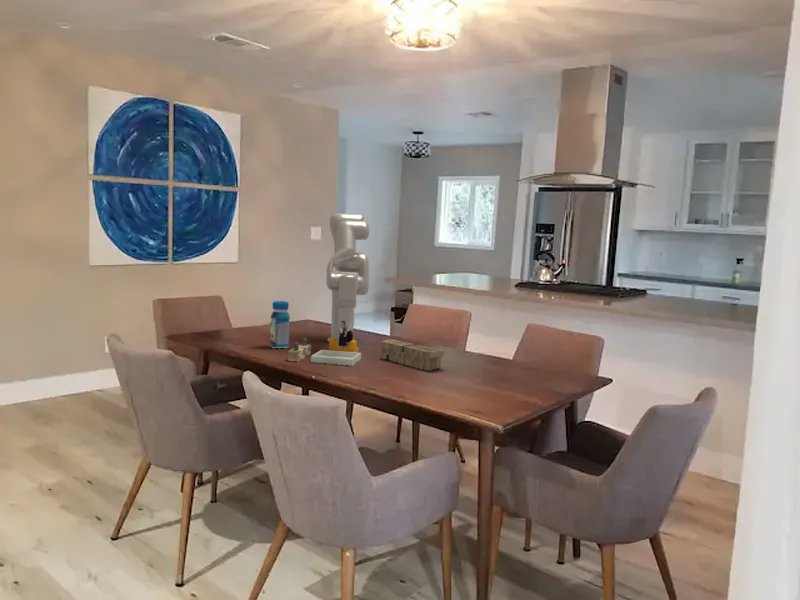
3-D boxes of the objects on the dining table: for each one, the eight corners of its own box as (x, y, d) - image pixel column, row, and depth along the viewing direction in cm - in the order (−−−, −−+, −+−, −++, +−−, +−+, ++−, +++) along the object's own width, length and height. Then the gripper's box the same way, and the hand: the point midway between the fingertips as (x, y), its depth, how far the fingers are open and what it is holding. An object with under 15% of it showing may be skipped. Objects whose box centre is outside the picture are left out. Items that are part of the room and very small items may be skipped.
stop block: (301, 353, 268) (302, 336, 268) (310, 354, 268) (311, 337, 267) (288, 360, 253) (288, 343, 252) (297, 361, 252) (298, 344, 251)
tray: (321, 355, 266) (321, 349, 266) (361, 358, 263) (361, 352, 262) (310, 362, 252) (310, 356, 252) (352, 366, 249) (352, 359, 249)
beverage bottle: (283, 350, 273) (284, 303, 271) (266, 347, 276) (267, 302, 274) (292, 346, 281) (294, 301, 279) (275, 344, 284) (276, 300, 281)
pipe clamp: (358, 355, 271) (359, 340, 270) (353, 357, 267) (353, 341, 266) (334, 351, 276) (334, 337, 275) (328, 353, 272) (329, 338, 271)
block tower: (378, 360, 266) (429, 372, 246) (379, 340, 266) (430, 350, 245) (392, 358, 272) (443, 369, 251) (392, 338, 271) (444, 348, 250)
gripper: (344, 302, 279) (342, 340, 280) (332, 305, 262) (331, 346, 263) (360, 302, 277) (359, 341, 279) (350, 306, 260) (348, 347, 262)
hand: (345, 344), depth 271 cm, fingers open, 9 cm apart
